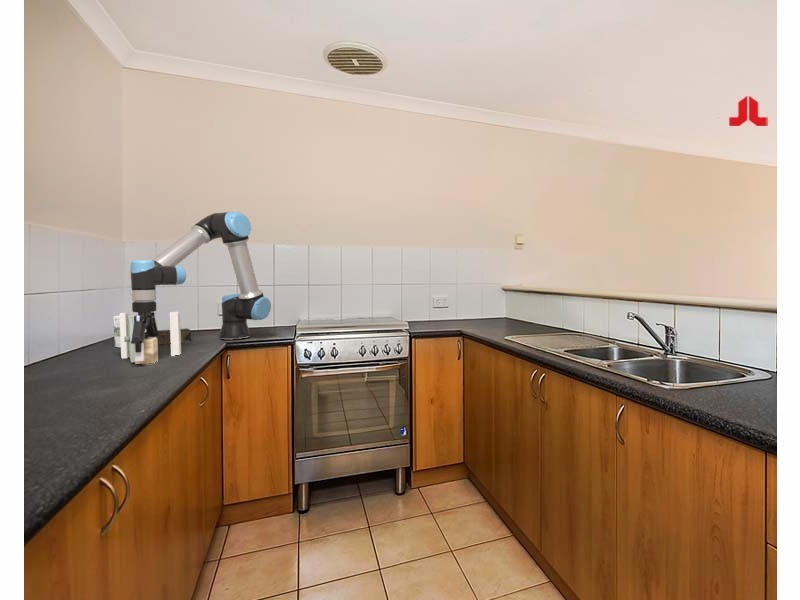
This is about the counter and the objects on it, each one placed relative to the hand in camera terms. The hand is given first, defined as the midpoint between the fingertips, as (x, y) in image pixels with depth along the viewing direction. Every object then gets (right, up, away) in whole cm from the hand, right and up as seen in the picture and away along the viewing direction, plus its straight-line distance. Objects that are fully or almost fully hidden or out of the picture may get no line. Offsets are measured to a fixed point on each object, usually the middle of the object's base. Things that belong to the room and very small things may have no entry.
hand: (146, 357), depth 143 cm
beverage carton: (-16, 0, +41) cm, 44 cm away
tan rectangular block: (0, -2, 0) cm, 2 cm away
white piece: (-4, -1, +11) cm, 12 cm away
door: (-9, -1, +4) cm, 9 cm away
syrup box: (-30, 0, +30) cm, 42 cm away
